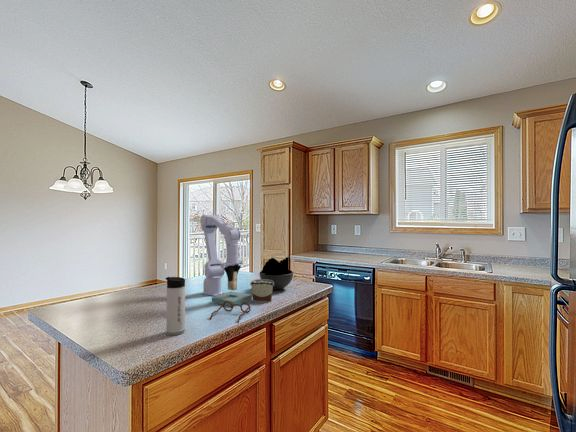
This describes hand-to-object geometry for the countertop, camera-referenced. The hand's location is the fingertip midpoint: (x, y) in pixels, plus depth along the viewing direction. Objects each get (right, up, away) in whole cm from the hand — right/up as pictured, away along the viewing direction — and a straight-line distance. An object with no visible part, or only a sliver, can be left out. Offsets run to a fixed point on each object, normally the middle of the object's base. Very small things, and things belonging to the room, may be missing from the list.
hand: (232, 280), depth 144 cm
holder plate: (0, -10, 0) cm, 10 cm away
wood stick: (0, -5, 0) cm, 5 cm away
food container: (+15, -11, +2) cm, 19 cm away
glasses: (+4, -11, -23) cm, 25 cm away
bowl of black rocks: (+21, -11, +25) cm, 34 cm away
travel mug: (-13, -10, -40) cm, 43 cm away
